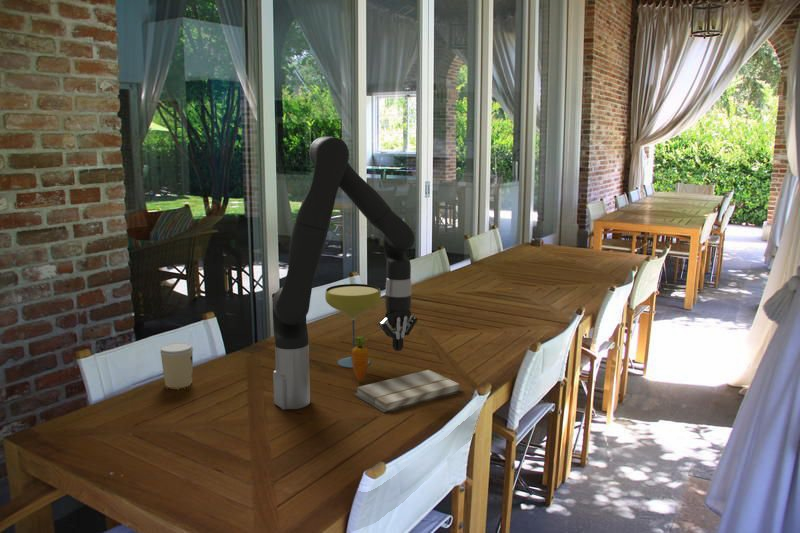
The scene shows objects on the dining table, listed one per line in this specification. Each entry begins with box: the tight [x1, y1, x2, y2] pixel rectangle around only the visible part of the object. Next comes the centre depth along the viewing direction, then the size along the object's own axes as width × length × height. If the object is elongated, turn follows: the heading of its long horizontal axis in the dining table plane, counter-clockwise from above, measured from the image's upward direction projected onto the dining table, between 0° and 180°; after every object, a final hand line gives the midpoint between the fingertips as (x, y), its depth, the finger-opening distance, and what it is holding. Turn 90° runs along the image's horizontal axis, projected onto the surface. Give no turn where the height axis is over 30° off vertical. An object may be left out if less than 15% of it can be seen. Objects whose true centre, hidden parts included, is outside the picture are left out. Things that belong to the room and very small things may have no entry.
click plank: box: [356, 369, 446, 403], centre depth 197 cm, size 26×9×2 cm, turn 125°
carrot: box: [351, 334, 369, 384], centre depth 202 cm, size 5×5×15 cm
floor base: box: [353, 377, 464, 414], centre depth 195 cm, size 28×16×3 cm, turn 125°
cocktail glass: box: [324, 283, 382, 369], centre depth 219 cm, size 18×18×25 cm
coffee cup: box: [159, 342, 194, 388], centre depth 200 cm, size 9×9×12 cm
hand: (397, 350), depth 197 cm, fingers closed
